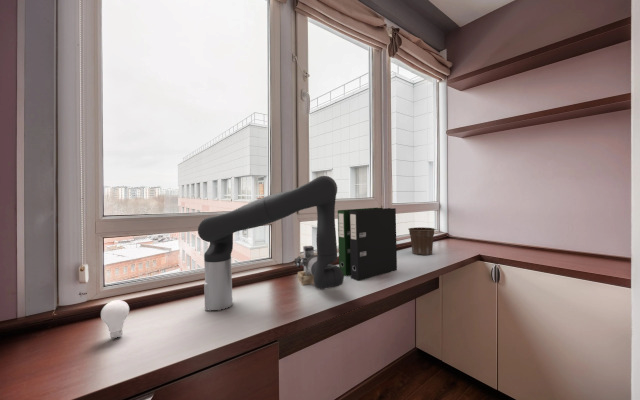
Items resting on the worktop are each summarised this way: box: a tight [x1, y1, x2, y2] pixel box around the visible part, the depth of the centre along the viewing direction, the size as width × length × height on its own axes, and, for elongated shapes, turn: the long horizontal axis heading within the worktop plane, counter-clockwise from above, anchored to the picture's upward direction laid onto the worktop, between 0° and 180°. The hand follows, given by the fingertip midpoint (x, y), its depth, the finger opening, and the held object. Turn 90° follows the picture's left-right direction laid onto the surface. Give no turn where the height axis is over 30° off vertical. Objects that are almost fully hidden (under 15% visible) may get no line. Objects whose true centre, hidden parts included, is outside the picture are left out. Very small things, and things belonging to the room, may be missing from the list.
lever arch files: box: [337, 207, 398, 282], centre depth 139 cm, size 27×15×32 cm, turn 124°
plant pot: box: [408, 226, 436, 256], centre depth 179 cm, size 16×16×16 cm
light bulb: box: [100, 299, 130, 339], centre depth 80 cm, size 7×7×11 cm
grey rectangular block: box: [302, 245, 315, 276], centre depth 128 cm, size 4×4×15 cm
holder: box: [297, 270, 315, 286], centre depth 128 cm, size 9×9×4 cm
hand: (307, 257), depth 130 cm, fingers open, 8 cm apart
